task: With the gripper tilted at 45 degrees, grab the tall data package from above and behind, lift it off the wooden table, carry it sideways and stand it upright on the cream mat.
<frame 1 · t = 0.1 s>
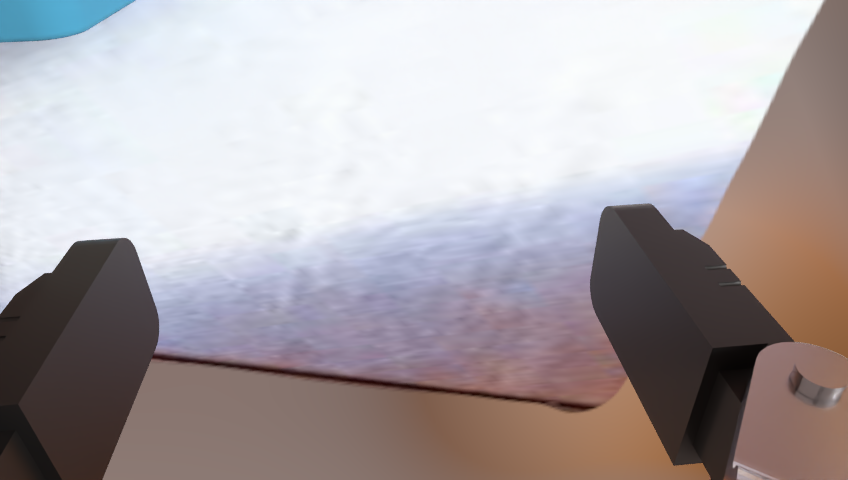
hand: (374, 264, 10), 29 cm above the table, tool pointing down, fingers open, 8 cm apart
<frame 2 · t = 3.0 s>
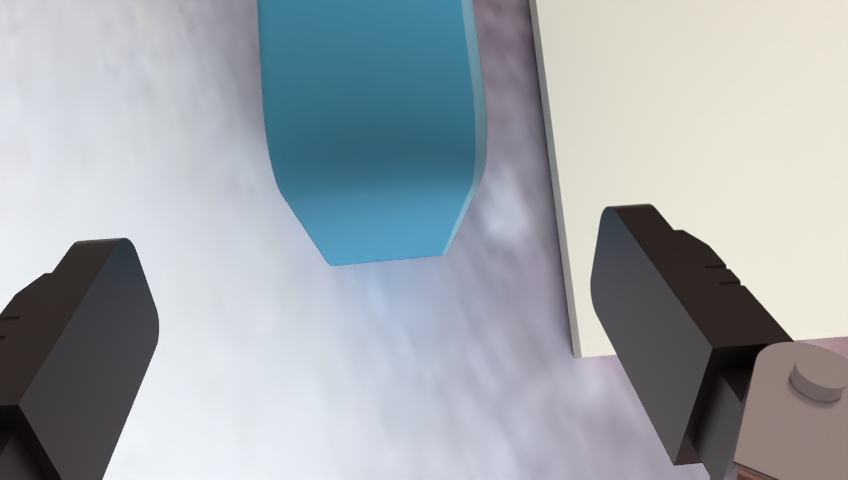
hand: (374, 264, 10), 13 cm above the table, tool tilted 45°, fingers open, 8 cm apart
cream mat: (709, 127, 25), on the table
data package: (375, 125, 25), on the table
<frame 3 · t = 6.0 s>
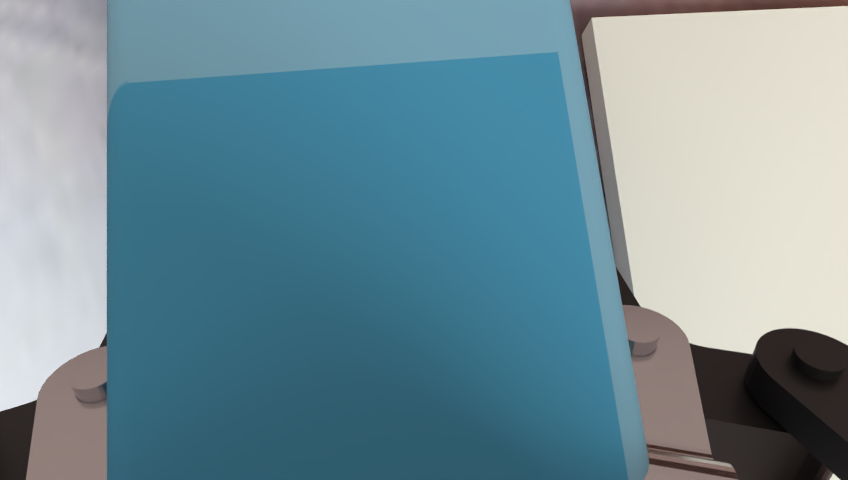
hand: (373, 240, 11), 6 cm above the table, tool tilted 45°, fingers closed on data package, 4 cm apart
data package: (381, 298, 17), on the table, touching gripper
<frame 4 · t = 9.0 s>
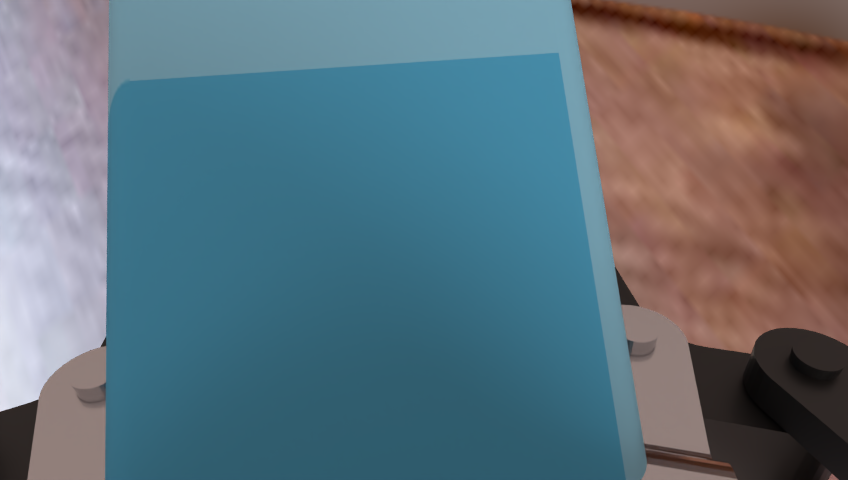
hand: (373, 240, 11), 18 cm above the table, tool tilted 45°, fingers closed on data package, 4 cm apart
data package: (382, 298, 17), point 11 cm above the table, touching gripper
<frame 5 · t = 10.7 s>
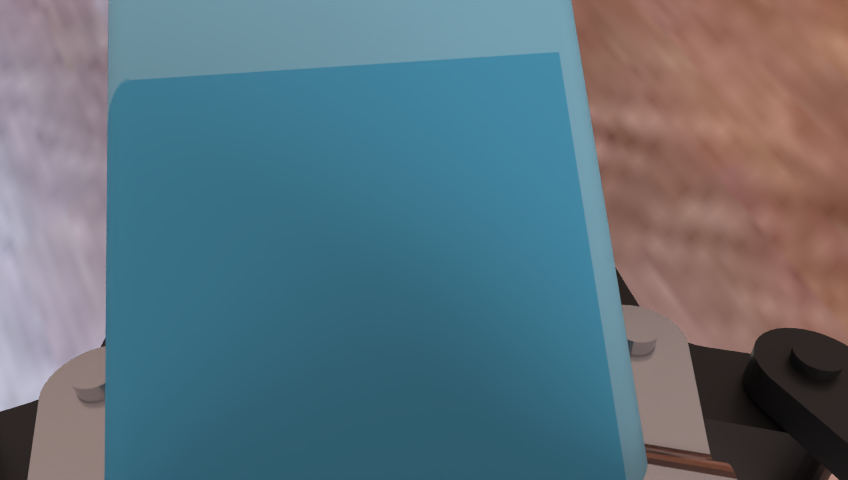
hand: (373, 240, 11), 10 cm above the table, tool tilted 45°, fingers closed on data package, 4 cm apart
data package: (382, 298, 17), point 4 cm above the table, touching gripper
when the fingers open (8 cm above the table, at t = 12.0 s): data package drops 1 cm, resting on cream mat.
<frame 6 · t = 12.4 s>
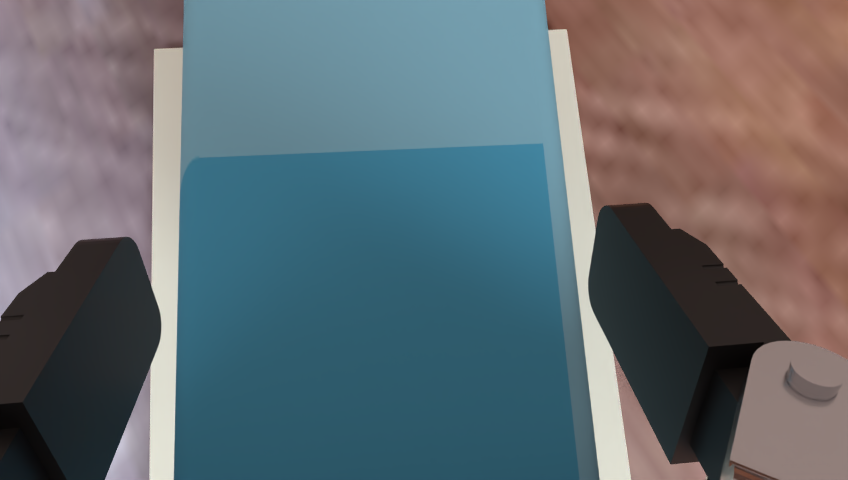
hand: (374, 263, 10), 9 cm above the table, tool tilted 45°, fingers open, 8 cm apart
cream mat: (383, 306, 19), on the table
data package: (388, 312, 19), point 1 cm above the table, touching cream mat
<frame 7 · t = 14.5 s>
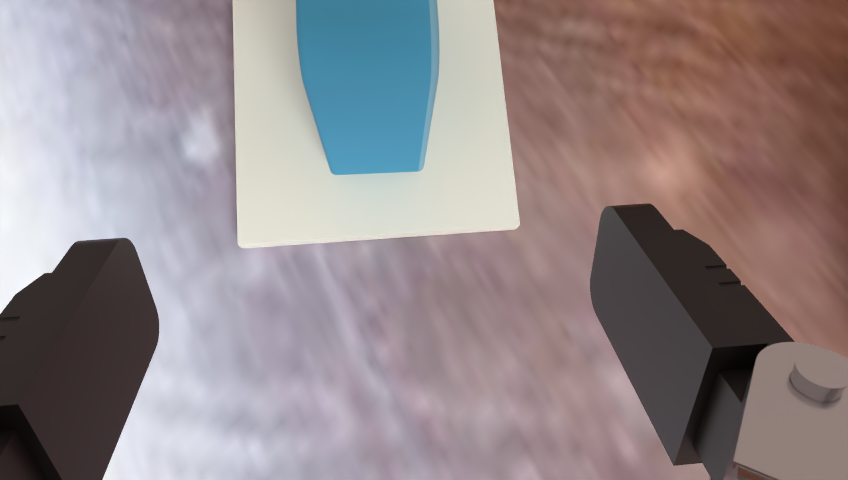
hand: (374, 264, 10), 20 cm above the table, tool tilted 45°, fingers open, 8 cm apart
cream mat: (370, 77, 32), on the table
data package: (372, 74, 31), point 1 cm above the table, touching cream mat
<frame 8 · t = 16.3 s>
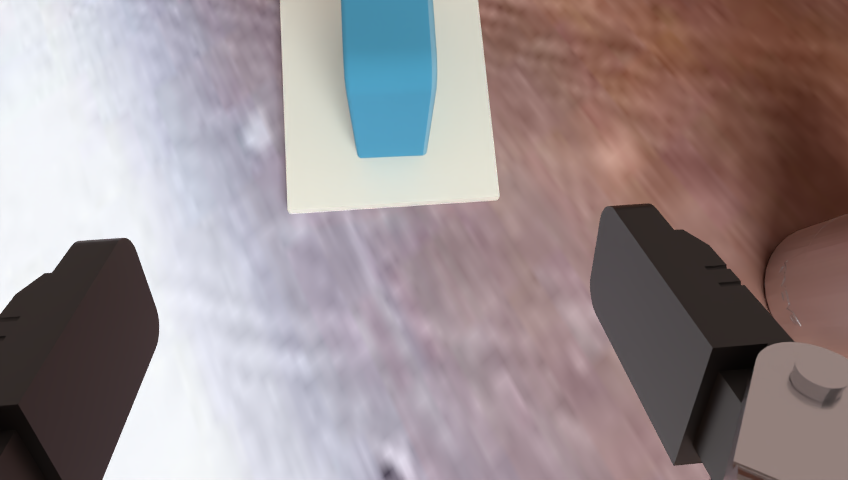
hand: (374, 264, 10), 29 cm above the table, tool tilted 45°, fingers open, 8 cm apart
cream mat: (385, 84, 42), on the table
data package: (388, 82, 41), point 1 cm above the table, touching cream mat
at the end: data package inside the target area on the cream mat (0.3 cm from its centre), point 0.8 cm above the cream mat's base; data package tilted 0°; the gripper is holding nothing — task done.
